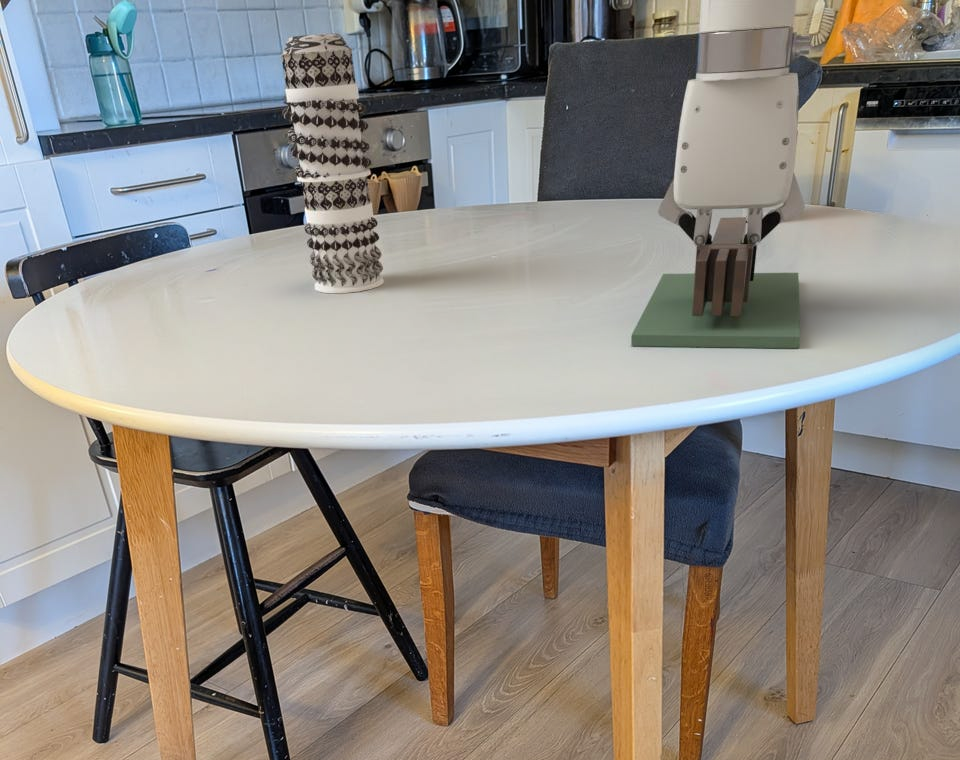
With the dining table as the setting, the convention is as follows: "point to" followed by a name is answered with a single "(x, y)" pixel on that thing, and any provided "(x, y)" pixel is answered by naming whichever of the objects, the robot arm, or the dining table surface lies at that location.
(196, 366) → the dining table surface
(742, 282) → the fork
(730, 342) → the mat
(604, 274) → the dining table surface
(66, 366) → the dining table surface
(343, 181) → the decorative candle
